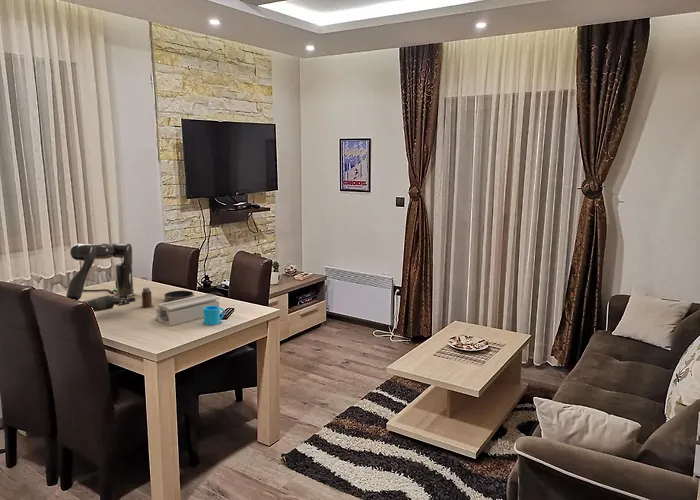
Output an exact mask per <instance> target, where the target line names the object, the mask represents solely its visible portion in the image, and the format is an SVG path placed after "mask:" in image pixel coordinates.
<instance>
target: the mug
mask: <svg viewBox="0 0 700 500" xmlns="http://www.w3.org/2000/svg"><path fill="white" fill-rule="evenodd" d="M221 311H222V314H221ZM225 313H226V312H225V309H224V308H222V307H220V305H219V306H207V307H204V317H203V324H204V325H206V326H215V325H219V324H220V323H221V320H222V319H223V318H224V316H225Z"/></svg>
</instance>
